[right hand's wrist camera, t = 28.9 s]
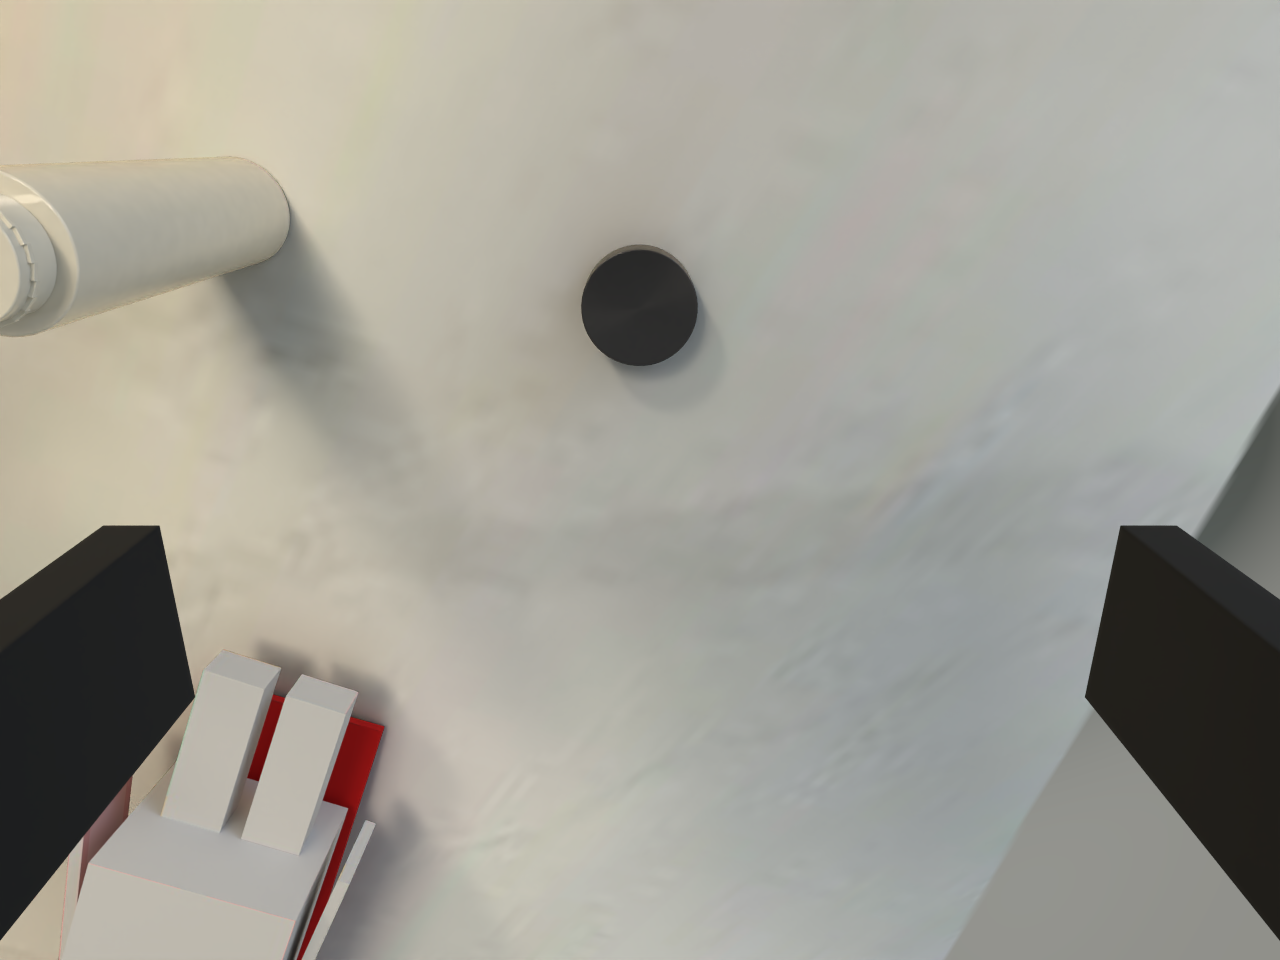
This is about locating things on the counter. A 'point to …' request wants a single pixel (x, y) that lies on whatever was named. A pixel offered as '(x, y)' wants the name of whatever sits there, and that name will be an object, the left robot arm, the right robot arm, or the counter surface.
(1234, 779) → the right robot arm
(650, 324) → the lid
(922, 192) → the counter surface
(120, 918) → the toy
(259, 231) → the white cylinder
